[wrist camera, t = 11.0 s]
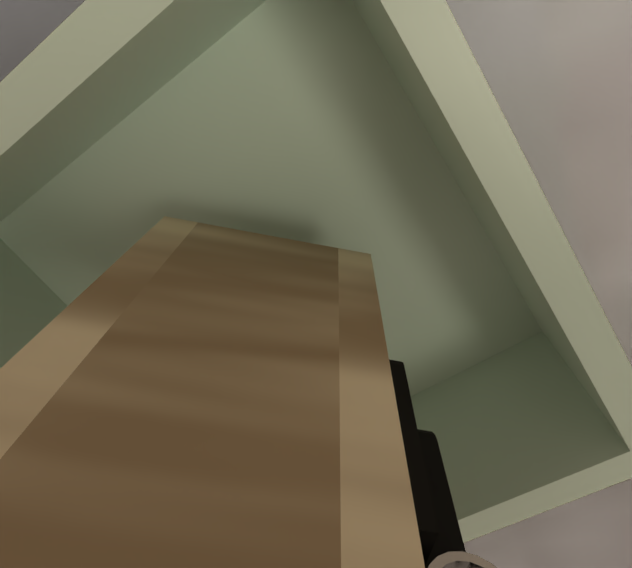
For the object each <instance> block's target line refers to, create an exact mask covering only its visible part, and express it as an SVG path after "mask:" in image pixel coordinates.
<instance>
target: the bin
mask: <svg viewBox="0 0 632 568" xmlns="http://www.w3.org/2000/svg"><path fill="white" fill-rule="evenodd" d="M164 216H166V217H172V218H177V219H183V220H188V221H193V222H199V223H204V224H210V225H215V226H221V227H226V228H232V229H237V230H242V231H248V232H253V233H259V234H264V235H270V236H275V237H281V238H286V239H291V240H297V241H302V242H308V243H313V244H319V245H324V246H330V247H335V248H340V249H346V250H351V251H357V252H362V253H368V254H371V258H372V264H373V270H374V276H375V281H376V287H377V293H378V299H379V305H380V310H381V316H382V322H383V328H384V333H385V339H386V345H387V351H388V357H389V359H390V360H395V361H401V362H403V363H404V367H405V371H406V376H407V381H408V386H409V391H410V396H411V400H412V405H413V410H414V415H415V420H416V425H417V429H420V430H426V431H432V432H433V433H434V434H435V435H436V438H437V441H438V445H439V449H440V453H441V457H442V460H443V464H444V468H445V472H446V476H447V480H448V484H449V488H450V492H451V496H452V500H453V504H454V508H455V512H456V516H457V520H458V524H459V528H460V532H461V535H462V539H463V543H465V542H468V541H470V540H473V539H475V538H478V537H480V536H483V535H486V534H488V533H491V532H493V531H496V530H499V529H501V528H504V527H506V526H509V525H512V524H514V523H517V522H519V521H522V520H524V519H527V518H530V517H532V516H535V515H537V514H540V513H543V512H545V511H548V510H550V509H553V508H556V507H558V506H561V505H563V504H566V503H569V502H571V501H574V500H576V499H579V498H581V497H584V496H587V495H589V494H592V493H594V492H597V491H600V490H602V489H605V488H607V487H610V486H613V485H615V484H618V483H620V482H623V481H625V480H628V479H631V478H632V366H631V364H630V362H629V360H628V358H627V356H626V354H625V352H624V350H623V348H622V346H621V344H620V343H619V341H618V339H617V337H616V335H615V333H614V331H613V329H612V327H611V325H610V323H609V321H608V319H607V317H606V315H605V313H604V311H603V309H602V307H601V305H600V303H599V301H598V299H597V297H596V295H595V293H594V291H593V289H592V287H591V286H590V284H589V282H588V280H587V278H586V276H585V274H584V272H583V270H582V268H581V266H580V264H579V262H578V260H577V258H576V256H575V254H574V252H573V250H572V248H571V246H570V244H569V242H568V240H567V238H566V236H565V234H564V232H563V230H562V229H561V227H560V225H559V223H558V221H557V219H556V217H555V215H554V213H553V211H552V209H551V207H550V205H549V203H548V201H547V199H546V197H545V195H544V193H543V191H542V189H541V187H540V185H539V183H538V181H537V179H536V177H535V175H534V173H533V172H532V170H531V168H530V166H529V164H528V162H527V160H526V158H525V156H524V154H523V152H522V150H521V148H520V146H519V144H518V142H517V140H516V138H515V136H514V134H513V132H512V130H511V128H510V126H509V124H508V122H507V120H506V118H505V116H504V115H503V113H502V111H501V109H500V107H499V105H498V103H497V101H496V99H495V97H494V95H493V93H492V91H491V89H490V87H489V85H488V83H487V81H486V79H485V77H484V75H483V73H482V71H481V69H480V67H479V65H478V63H477V61H476V59H475V58H474V56H473V54H472V52H471V50H470V48H469V46H468V44H467V42H466V40H465V38H464V36H463V34H462V32H461V30H460V28H459V26H458V24H457V22H456V20H455V18H454V16H453V14H452V12H451V10H450V8H449V6H448V4H447V2H446V1H445V0H85V1H84V2H83V3H82V4H81V5H80V6H79V7H78V8H77V9H76V10H75V11H74V12H73V13H72V14H71V15H70V16H69V17H68V18H67V19H66V20H65V21H64V22H62V23H61V24H60V25H59V26H58V27H57V28H56V29H55V30H54V31H53V32H52V33H51V34H50V35H49V36H48V37H47V38H46V39H45V40H44V41H43V42H42V43H41V44H40V45H39V46H37V47H36V48H35V49H34V50H33V51H32V52H31V53H30V54H29V55H28V56H27V57H26V58H25V59H24V60H23V61H22V62H21V63H20V64H19V65H18V66H17V67H16V68H15V69H14V70H13V71H11V72H10V73H9V74H8V75H7V76H6V77H5V78H4V79H3V80H2V81H1V82H0V368H1V367H3V366H4V365H5V364H6V363H7V362H8V361H9V360H10V359H11V358H12V357H13V356H14V355H15V354H17V353H18V352H19V351H20V350H21V349H22V348H23V347H24V346H25V345H26V344H27V343H28V342H29V341H31V340H32V339H33V338H34V337H35V336H36V335H37V334H38V333H39V332H40V331H41V330H42V329H44V328H45V327H46V326H47V325H48V324H49V323H50V322H51V321H52V320H53V319H54V318H55V317H56V316H58V315H59V314H60V313H61V312H62V311H63V310H64V309H65V308H66V307H67V306H68V305H69V304H70V303H72V302H73V301H74V300H75V299H76V298H77V297H78V296H79V295H80V294H81V293H82V292H83V291H84V290H86V289H87V288H88V287H89V286H90V285H91V284H92V283H93V282H94V281H95V280H96V279H97V278H98V277H100V276H101V275H102V274H103V273H104V272H105V271H106V270H107V269H108V268H109V267H110V266H111V265H112V264H114V263H115V262H116V261H117V260H118V259H119V258H120V257H121V256H122V255H123V254H124V253H125V252H126V251H128V250H129V249H130V248H131V247H132V246H133V245H134V244H135V243H136V242H137V241H138V240H139V239H141V238H142V237H143V236H144V235H145V234H146V233H147V232H148V231H149V230H150V229H151V228H152V227H153V226H155V225H156V224H157V223H158V222H159V221H160V220H161V219H162V218H163V217H164Z"/></svg>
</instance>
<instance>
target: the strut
mask: <svg viewBox="0 0 632 568" xmlns="http://www.w3.org/2000/svg"><path fill="white" fill-rule="evenodd" d="M0 568H425V564H424V559H423V553H422V547H421V541H420V536H419V530H418V524H417V518H416V512H415V507H414V501H413V495H412V489H411V484H410V478H409V472H408V466H407V461H406V455H405V449H404V443H403V437H402V432H401V426H400V420H399V414H398V409H397V403H396V397H395V391H394V385H393V380H392V374H391V368H390V362H389V357H388V351H387V345H386V339H385V333H384V328H383V322H382V316H381V310H380V305H379V299H378V293H377V287H376V281H375V276H374V270H373V264H372V258H371V254H368V253H362V252H357V251H351V250H346V249H340V248H335V247H330V246H324V245H319V244H313V243H308V242H302V241H297V240H291V239H286V238H281V237H275V236H270V235H264V234H259V233H253V232H248V231H242V230H237V229H232V228H226V227H221V226H215V225H210V224H204V223H199V222H193V221H188V220H183V219H177V218H172V217H166V216H164V217H163V218H162V219H161V220H160V221H159V222H158V223H157V224H156V225H155V226H153V227H152V228H151V229H150V230H149V231H148V232H147V233H146V234H145V235H144V236H143V237H142V238H141V239H139V240H138V241H137V242H136V243H135V244H134V245H133V246H132V247H131V248H130V249H129V250H128V251H126V252H125V253H124V254H123V255H122V256H121V257H120V258H119V259H118V260H117V261H116V262H115V263H114V264H112V265H111V266H110V267H109V268H108V269H107V270H106V271H105V272H104V273H103V274H102V275H101V276H100V277H98V278H97V279H96V280H95V281H94V282H93V283H92V284H91V285H90V286H89V287H88V288H87V289H86V290H84V291H83V292H82V293H81V294H80V295H79V296H78V297H77V298H76V299H75V300H74V301H73V302H72V303H70V304H69V305H68V306H67V307H66V308H65V309H64V310H63V311H62V312H61V313H60V314H59V315H58V316H56V317H55V318H54V319H53V320H52V321H51V322H50V323H49V324H48V325H47V326H46V327H45V328H44V329H42V330H41V331H40V332H39V333H38V334H37V335H36V336H35V337H34V338H33V339H32V340H31V341H29V342H28V343H27V344H26V345H25V346H24V347H23V348H22V349H21V350H20V351H19V352H18V353H17V354H15V355H14V356H13V357H12V358H11V359H10V360H9V361H8V362H7V363H6V364H5V365H4V366H3V367H1V368H0Z"/></svg>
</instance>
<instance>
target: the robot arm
mask: <svg viewBox="0 0 632 568" xmlns="http://www.w3.org/2000/svg"><path fill="white" fill-rule="evenodd" d="M389 362H390V368H391V374H392V380H393V385H394V391H395V397H396V403H397V409H398V414H399V420H400V426H401V432H402V437H403V443H404V449H405V455H406V461H407V466H408V472H409V478H410V484H411V489H412V495H413V501H414V507H415V512H416V518H417V524H418V530H419V536H420V541H421V547H422V553H423V559H424V564H425V568H497V567H496V566H494V565H493V564H492V563H490V562H488V561H486V560H485V559H483V558H481V557H479V556H477V555H474V554H470V553H467V552H466V551H465V547H464V543H463V539H462V535H461V532H460V528H459V524H458V520H457V516H456V512H455V508H454V504H453V500H452V496H451V492H450V488H449V484H448V480H447V476H446V472H445V468H444V464H443V460H442V457H441V453H440V449H439V445H438V441H437V438H436V435H435V434H434V433H433V432H432V431H426V430H420V429H417V425H416V420H415V415H414V410H413V405H412V400H411V396H410V391H409V386H408V381H407V376H406V371H405V367H404V363H403V362H401V361H395V360H390V359H389Z"/></svg>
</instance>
